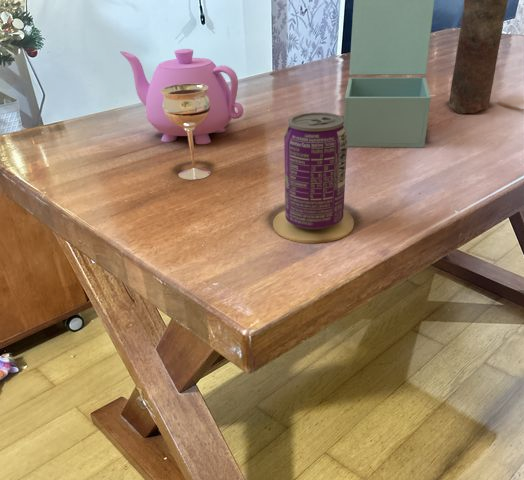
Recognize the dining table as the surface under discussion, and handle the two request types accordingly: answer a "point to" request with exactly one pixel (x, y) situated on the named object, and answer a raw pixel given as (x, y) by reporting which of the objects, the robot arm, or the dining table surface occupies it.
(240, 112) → the teapot
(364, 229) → the dining table surface
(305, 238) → the coaster
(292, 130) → the beverage can
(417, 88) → the chest
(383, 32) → the chest lid
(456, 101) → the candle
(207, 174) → the wineglass
